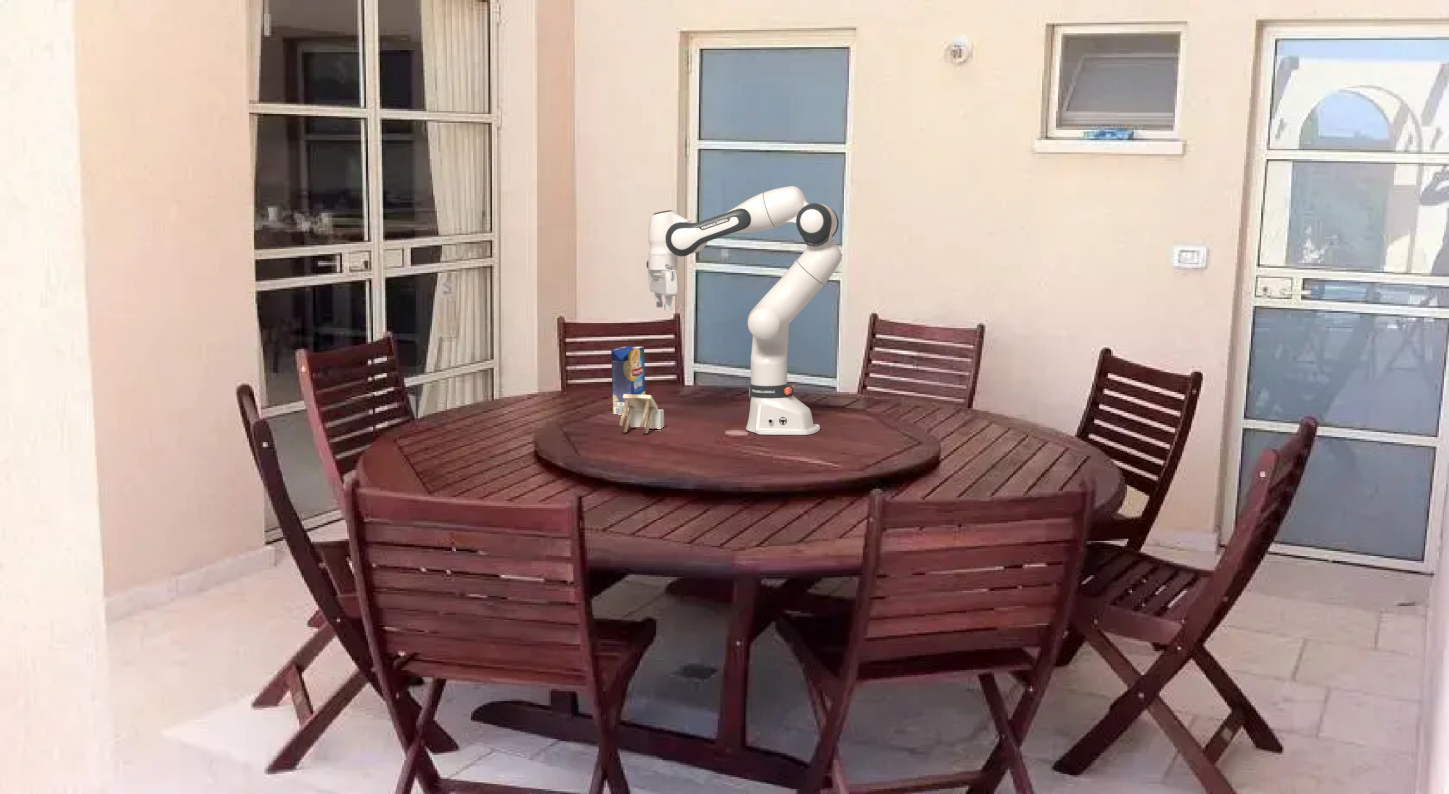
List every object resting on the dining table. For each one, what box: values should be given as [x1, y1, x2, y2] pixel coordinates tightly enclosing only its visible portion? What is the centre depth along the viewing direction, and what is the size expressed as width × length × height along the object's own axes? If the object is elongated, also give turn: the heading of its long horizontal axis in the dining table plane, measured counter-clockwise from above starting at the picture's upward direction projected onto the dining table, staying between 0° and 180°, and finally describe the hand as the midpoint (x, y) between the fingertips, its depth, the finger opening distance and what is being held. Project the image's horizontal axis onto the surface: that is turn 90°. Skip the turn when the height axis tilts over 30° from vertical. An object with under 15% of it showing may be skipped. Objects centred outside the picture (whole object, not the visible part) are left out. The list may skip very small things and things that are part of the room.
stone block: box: [629, 408, 665, 429], centre depth 417 cm, size 10×3×6 cm, turn 72°
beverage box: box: [610, 345, 646, 415], centre depth 441 cm, size 7×11×22 cm, turn 160°
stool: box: [618, 394, 659, 434], centre depth 409 cm, size 9×7×10 cm
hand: (663, 308), depth 417 cm, fingers open, 8 cm apart
